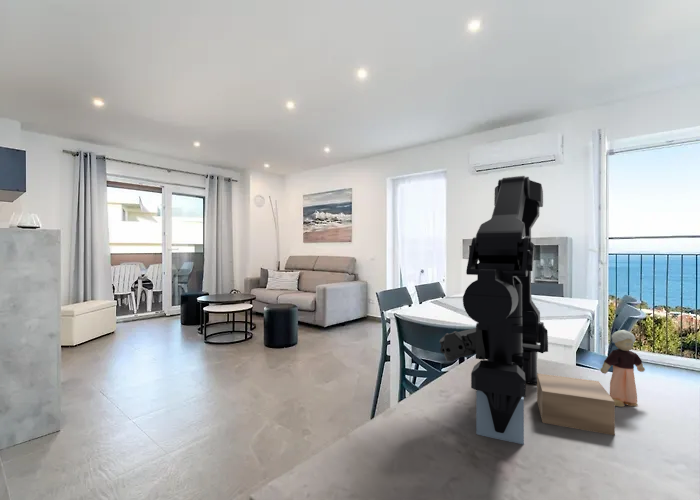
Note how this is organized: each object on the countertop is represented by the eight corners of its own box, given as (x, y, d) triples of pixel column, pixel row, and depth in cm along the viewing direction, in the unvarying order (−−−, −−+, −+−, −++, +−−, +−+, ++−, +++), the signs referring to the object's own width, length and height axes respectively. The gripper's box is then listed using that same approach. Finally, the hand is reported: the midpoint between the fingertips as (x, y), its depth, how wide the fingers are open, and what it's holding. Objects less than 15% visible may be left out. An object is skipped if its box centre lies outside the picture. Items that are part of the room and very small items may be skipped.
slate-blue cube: (480, 416, 54) (480, 378, 55) (523, 425, 52) (523, 384, 52) (476, 434, 49) (476, 391, 49) (523, 444, 46) (523, 399, 47)
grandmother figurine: (619, 410, 57) (618, 333, 58) (597, 401, 61) (596, 328, 61) (653, 405, 59) (652, 331, 60) (629, 396, 63) (629, 326, 63)
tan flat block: (537, 402, 61) (537, 373, 61) (598, 411, 57) (598, 381, 57) (542, 424, 53) (542, 391, 53) (614, 437, 49) (614, 401, 49)
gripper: (454, 303, 63) (453, 390, 62) (431, 319, 46) (430, 439, 46) (523, 308, 58) (523, 402, 58) (525, 327, 41) (525, 461, 41)
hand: (500, 422), depth 50 cm, fingers closed on slate-blue cube, 6 cm apart
